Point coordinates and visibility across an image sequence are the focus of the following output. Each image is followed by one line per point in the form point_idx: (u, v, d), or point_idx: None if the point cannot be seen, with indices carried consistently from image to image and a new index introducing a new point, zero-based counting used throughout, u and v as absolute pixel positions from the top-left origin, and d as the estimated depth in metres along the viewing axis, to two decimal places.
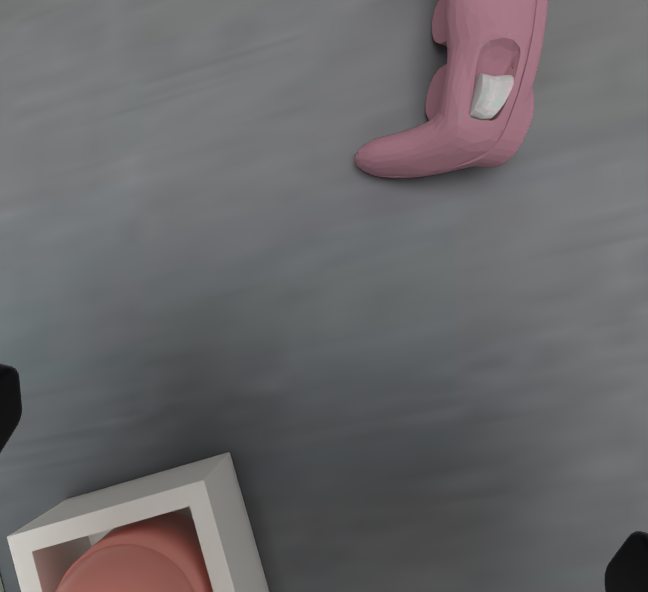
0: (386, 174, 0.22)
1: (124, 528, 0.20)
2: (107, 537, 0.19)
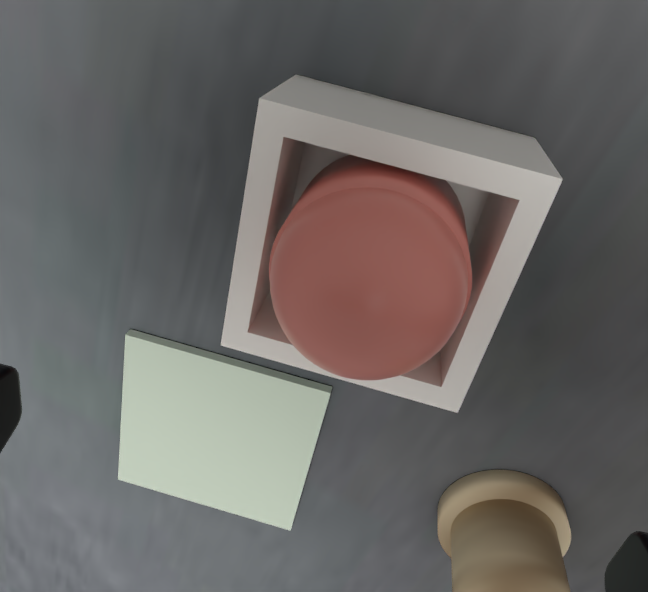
0: None
1: None
2: None
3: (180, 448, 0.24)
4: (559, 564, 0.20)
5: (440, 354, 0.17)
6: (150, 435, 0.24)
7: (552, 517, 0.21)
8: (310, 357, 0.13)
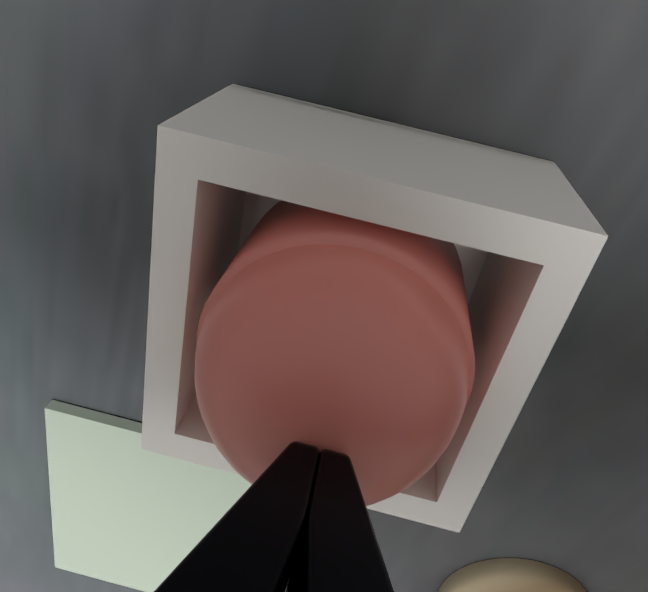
0: None
1: None
2: None
3: (124, 535, 0.20)
4: None
5: None
6: (87, 520, 0.20)
7: None
8: (251, 483, 0.09)
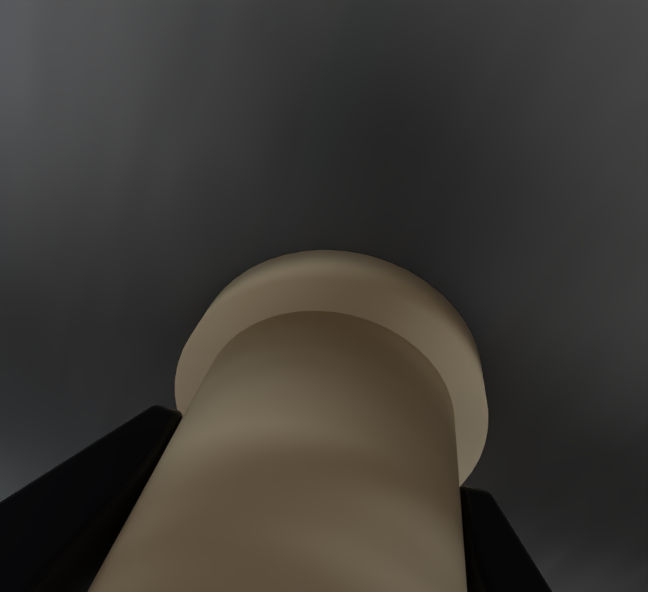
0: None
1: None
2: None
3: None
4: (428, 458, 0.06)
5: None
6: None
7: (433, 355, 0.08)
8: None
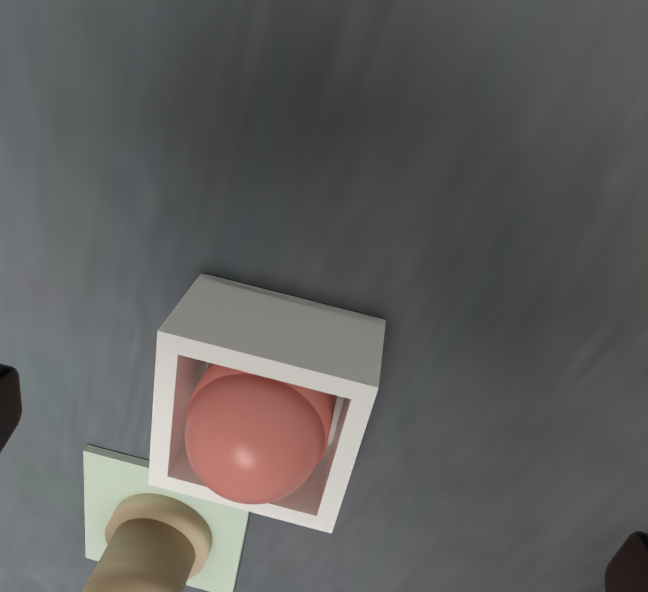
0: None
1: None
2: None
3: None
4: (163, 571, 0.24)
5: (323, 482, 0.22)
6: None
7: (182, 531, 0.26)
8: None
